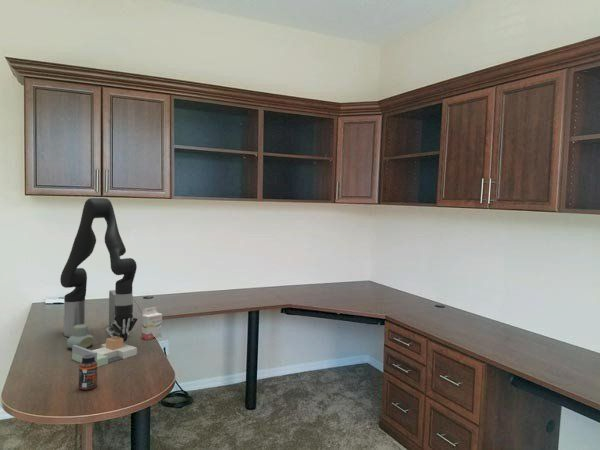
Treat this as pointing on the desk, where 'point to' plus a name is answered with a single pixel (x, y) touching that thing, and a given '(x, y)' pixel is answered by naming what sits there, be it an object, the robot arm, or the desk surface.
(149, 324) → the ink cartridge box
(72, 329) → the robot arm
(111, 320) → the network device
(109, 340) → the block
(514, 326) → the desk surface
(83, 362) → the supplement bottle
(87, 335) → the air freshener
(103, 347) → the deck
